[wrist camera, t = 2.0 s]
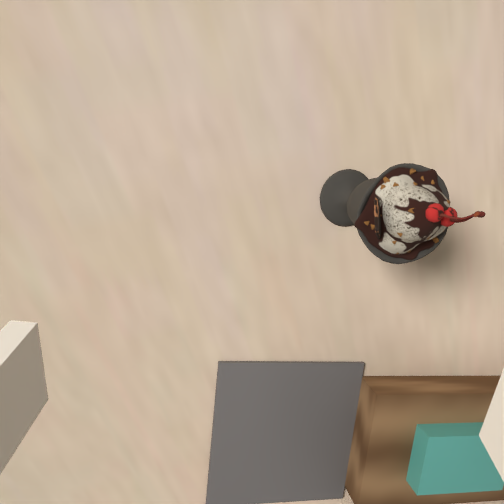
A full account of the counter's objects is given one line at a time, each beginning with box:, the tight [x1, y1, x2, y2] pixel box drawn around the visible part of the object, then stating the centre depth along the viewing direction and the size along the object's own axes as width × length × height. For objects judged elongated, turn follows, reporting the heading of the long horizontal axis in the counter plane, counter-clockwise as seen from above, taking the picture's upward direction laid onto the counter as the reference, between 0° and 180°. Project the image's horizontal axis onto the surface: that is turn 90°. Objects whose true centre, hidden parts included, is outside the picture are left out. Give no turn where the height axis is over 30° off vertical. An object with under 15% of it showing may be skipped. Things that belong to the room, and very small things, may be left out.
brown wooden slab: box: [345, 376, 504, 504], centre depth 46 cm, size 12×19×4 cm, turn 85°
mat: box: [206, 361, 364, 504], centre depth 44 cm, size 15×14×1 cm
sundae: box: [320, 163, 485, 264], centre depth 33 cm, size 7×7×15 cm
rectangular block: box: [406, 422, 504, 495], centre depth 43 cm, size 6×9×2 cm, turn 85°
